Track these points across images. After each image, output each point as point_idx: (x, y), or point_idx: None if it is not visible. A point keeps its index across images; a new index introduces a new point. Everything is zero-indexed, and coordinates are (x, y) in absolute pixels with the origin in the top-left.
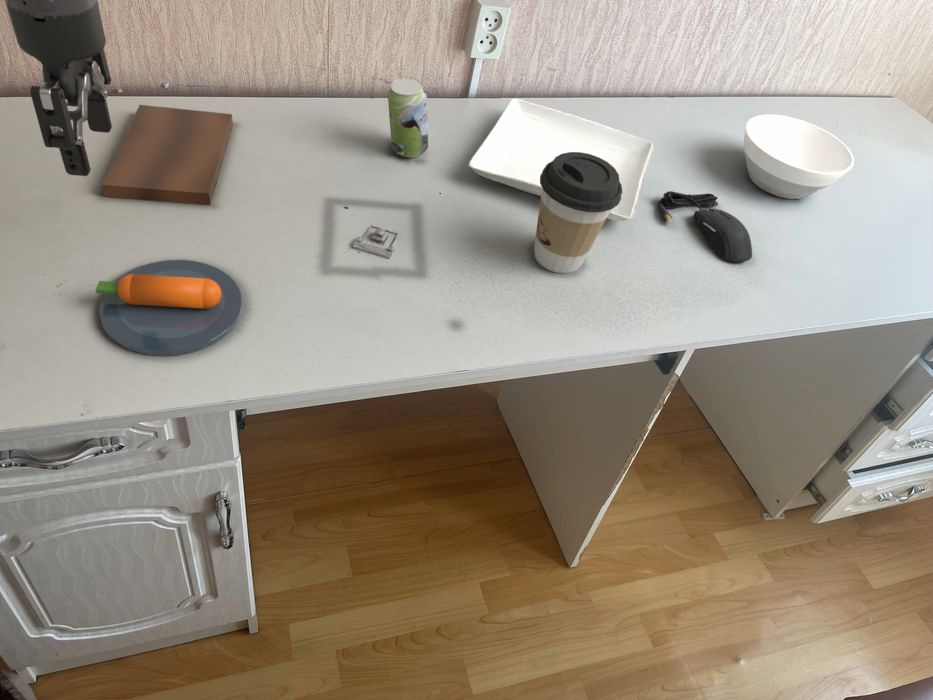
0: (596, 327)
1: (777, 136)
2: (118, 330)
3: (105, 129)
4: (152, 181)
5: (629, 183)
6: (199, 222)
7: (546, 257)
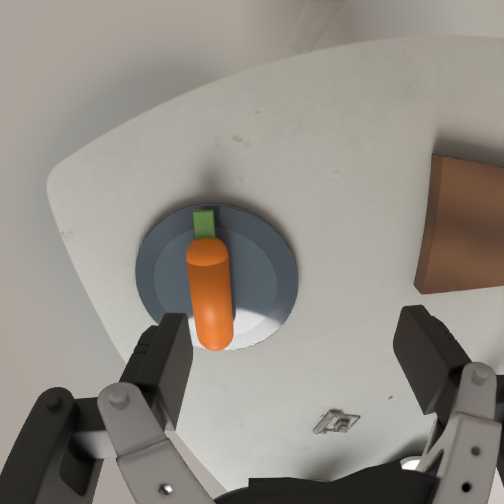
0: None
1: None
2: (155, 241)
3: (397, 342)
4: (449, 222)
5: None
6: (382, 280)
7: None
